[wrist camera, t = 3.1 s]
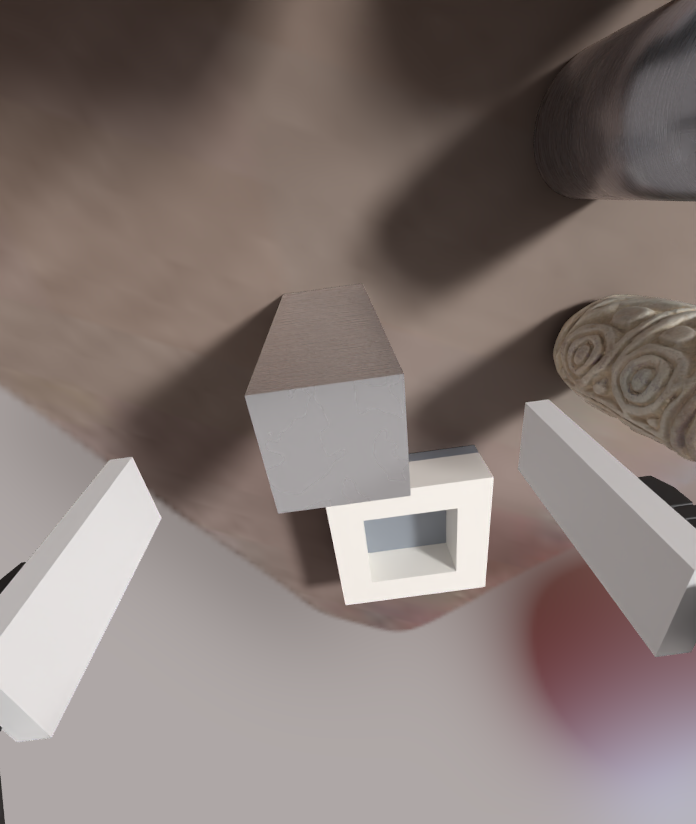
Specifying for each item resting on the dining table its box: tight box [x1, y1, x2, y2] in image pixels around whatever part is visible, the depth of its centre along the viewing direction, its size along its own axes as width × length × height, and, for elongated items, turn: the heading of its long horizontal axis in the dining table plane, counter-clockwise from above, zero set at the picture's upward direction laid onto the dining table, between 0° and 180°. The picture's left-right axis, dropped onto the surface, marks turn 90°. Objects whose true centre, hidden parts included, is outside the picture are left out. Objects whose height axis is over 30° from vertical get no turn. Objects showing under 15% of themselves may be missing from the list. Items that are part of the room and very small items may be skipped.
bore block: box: [326, 445, 494, 605], centre depth 32 cm, size 12×12×4 cm
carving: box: [553, 295, 696, 462], centre depth 22 cm, size 6×8×12 cm
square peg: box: [245, 283, 411, 514], centre depth 19 cm, size 5×5×14 cm
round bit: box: [534, 0, 696, 201], centre depth 17 cm, size 7×7×10 cm
